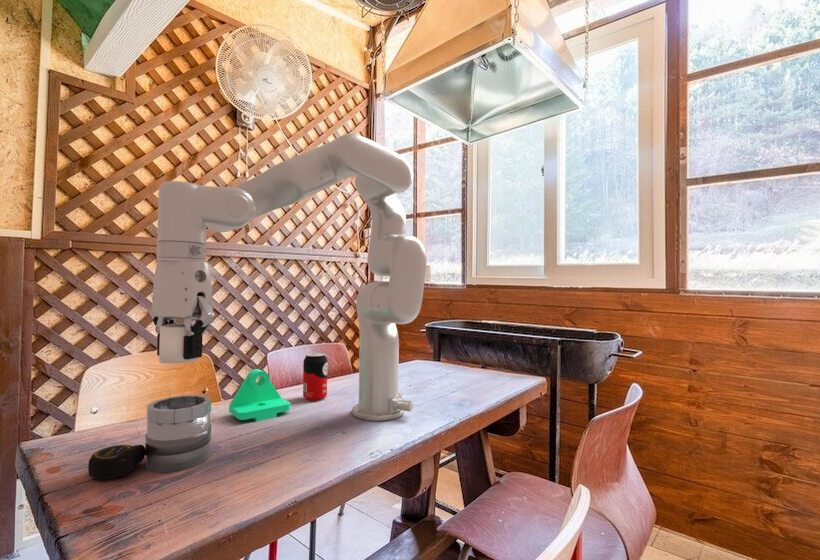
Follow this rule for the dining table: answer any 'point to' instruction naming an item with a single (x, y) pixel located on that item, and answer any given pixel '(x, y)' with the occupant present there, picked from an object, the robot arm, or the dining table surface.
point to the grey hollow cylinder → (178, 433)
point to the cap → (172, 343)
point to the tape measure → (115, 461)
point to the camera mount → (257, 398)
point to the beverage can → (315, 376)
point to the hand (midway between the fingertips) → (179, 355)
